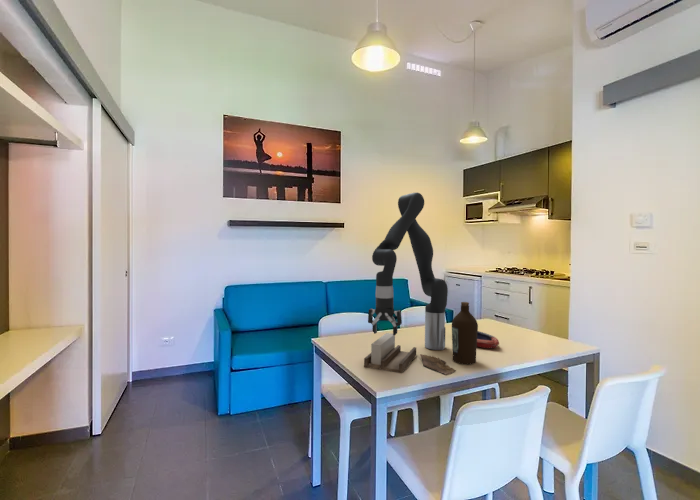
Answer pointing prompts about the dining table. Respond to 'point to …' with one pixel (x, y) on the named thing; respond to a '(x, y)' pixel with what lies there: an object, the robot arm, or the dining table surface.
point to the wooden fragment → (436, 364)
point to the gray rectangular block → (382, 348)
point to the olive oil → (464, 336)
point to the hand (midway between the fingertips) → (384, 334)
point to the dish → (486, 340)
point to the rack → (393, 360)
